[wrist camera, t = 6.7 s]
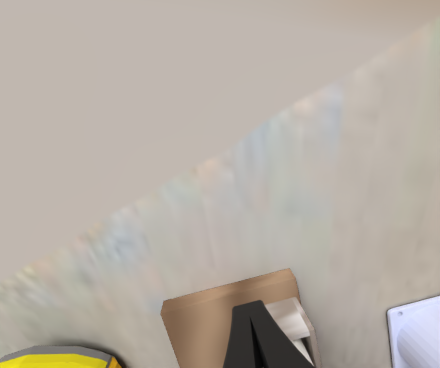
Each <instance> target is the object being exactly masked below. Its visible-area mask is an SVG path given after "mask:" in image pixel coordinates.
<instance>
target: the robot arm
mask: <svg viewBox="0 0 440 368" xmlns="http://www.w3.org/2000/svg"><path fill="white" fill-rule="evenodd" d="M387 317H388V326H389V335H390V344H391V354H392V363H393V368H440V296H437V297H433V298H430V299H426V300H422V301H418V302H414V303H411V304H407V305H403V306H399V307H395V308H392V309H389V310H388V312H387ZM223 368H315V367H314V366H313V365H312V364H311V363H310V362H309V361H308V360H307V359H306V357H305V356H304V355H303V354H302V353H301V352H300V351H299V350H298V349H297V348H296V347H295V345H294V344H293V343H292V342H291V341H290V340H289V338H288V337H287V336H286V335H285V333H284V332H283V331H282V330H281V328H280V327H279V326H278V325H277V323H276V322H275V320H274V319H273V318H272V316H271V315H270V313H269V312H268V310H267V308H266V307H265V305H264V303H263V301H261V300H257V301H253V302H249V303H245V304H242V305H238V306H234V307H233V309H232V321H231V329H230V336H229V341H228V346H227V352H226V356H225V360H224V364H223Z"/></svg>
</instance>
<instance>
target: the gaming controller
mask: <svg viewBox="0 0 440 368" xmlns="http://www.w3.org/2000/svg"><path fill="white" fill-rule="evenodd" d="M0 368H122V367H121V366H120V365H119V364H118V362H117V360H116V358H115V357H114V356H112V355H109V354H106V353H103V352H101V351H99V350H94V349H89V348H85V347H81V346H33V347H30V348H27V349H24V350H21V351H18V352H15V353H12V354H9V355H5V356H4V357H3V358H1V359H0Z"/></svg>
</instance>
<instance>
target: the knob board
mask: <svg viewBox="0 0 440 368" xmlns="http://www.w3.org/2000/svg"><path fill="white" fill-rule="evenodd" d="M257 300H261V301H263V303H264V305H265V307H266V308H267V310H268V312H269V313H270V315H271V316H272V318H273V319H274V320H275V322H276V323H277V325H278V326H279V327H280V328H281V330H282V331H283V332H284V333H285V335H286V336H287V337H288V338H289V340H290V341H292V340H296V339H300V338H301V340H302V342H303V344H304V346H305V348H306V350H307V353H308V355H309V357H310V359H311V361H312V363H313V365H314V367H315V368H322V366H321V361H320V355H319V350H318V345H317V340H316V335H315V330H314V328H313V326H312V324H311V323H310V321H309V319H308V317H307V316H306V314H305V312H304V310H303V308H302V307H301V302H300V297H299V292H298V287H297V282H296V278H295V276H294V275H293V273H292V272H291V270H290V268H289V269H285V270H281V271H277V272H273V273H269V274H266V275H262V276H258V277H254V278H250V279H246V280H243V281H239V282H235V283H231V284H227V285H223V286H220V287H216V288H212V289H208V290H204V291H201V292H197V293H193V294H189V295H185V296H181V297H178V298H174V299H170V300H166V301H164V302H163V306H162V310H161V313H160V314H161V316H162V319H163V322H164V325H165V327H166V330H167V333H168V336H169V339H170V341H171V344H172V347H173V350H174V352H175V355H176V358H177V361H178V364H179V366H180V368H223V364H224V360H225V356H226V352H227V346H228V341H229V336H230V329H231V321H232V309H233V307H234V306H238V305H242V304H245V303H249V302H253V301H257Z"/></svg>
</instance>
